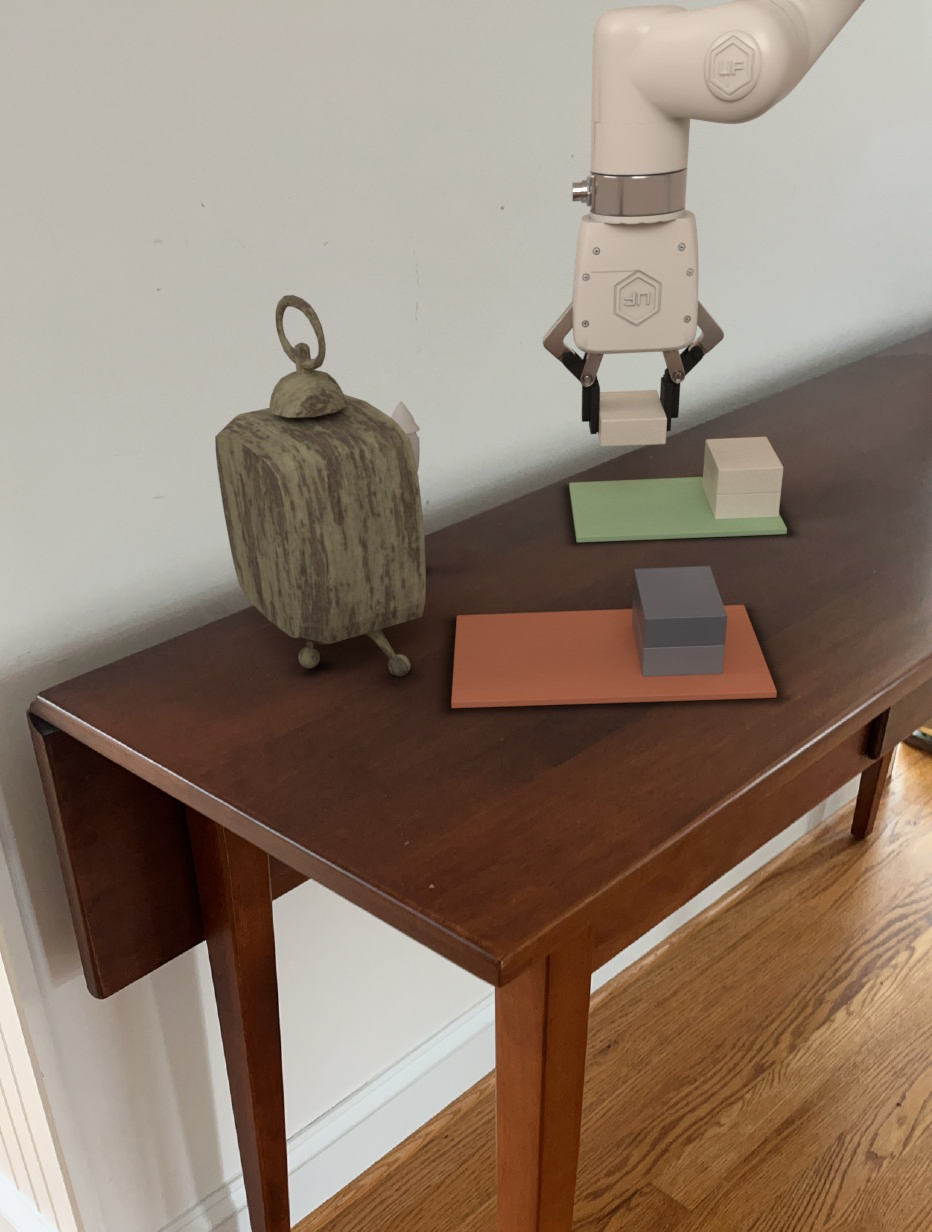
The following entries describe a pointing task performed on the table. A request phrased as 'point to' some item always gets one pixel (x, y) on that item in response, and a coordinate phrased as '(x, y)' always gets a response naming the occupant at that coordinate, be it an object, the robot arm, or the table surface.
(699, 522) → the green mat
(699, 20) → the robot arm
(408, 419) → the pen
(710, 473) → the beige lidded box
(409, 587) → the tabletop clock
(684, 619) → the grey blocks
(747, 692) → the terracotta rectangular mat
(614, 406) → the cream flat block
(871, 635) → the table surface
